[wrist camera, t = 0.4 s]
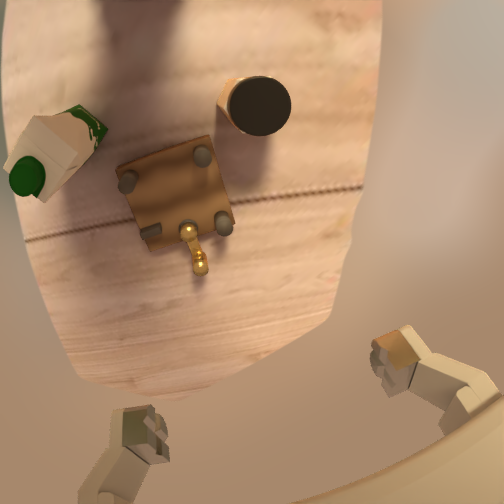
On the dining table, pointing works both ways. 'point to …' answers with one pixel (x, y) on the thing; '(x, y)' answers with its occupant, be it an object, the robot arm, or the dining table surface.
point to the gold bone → (194, 248)
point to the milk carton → (52, 151)
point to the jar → (255, 104)
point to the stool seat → (176, 192)
